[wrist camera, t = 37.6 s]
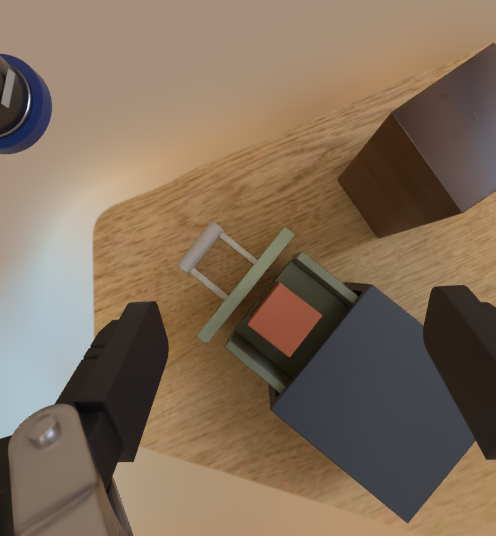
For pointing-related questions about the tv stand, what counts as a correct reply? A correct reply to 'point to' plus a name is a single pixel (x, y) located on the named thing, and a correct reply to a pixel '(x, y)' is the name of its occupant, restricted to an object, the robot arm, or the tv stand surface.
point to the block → (283, 318)
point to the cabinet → (378, 404)
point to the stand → (430, 152)
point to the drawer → (292, 276)
